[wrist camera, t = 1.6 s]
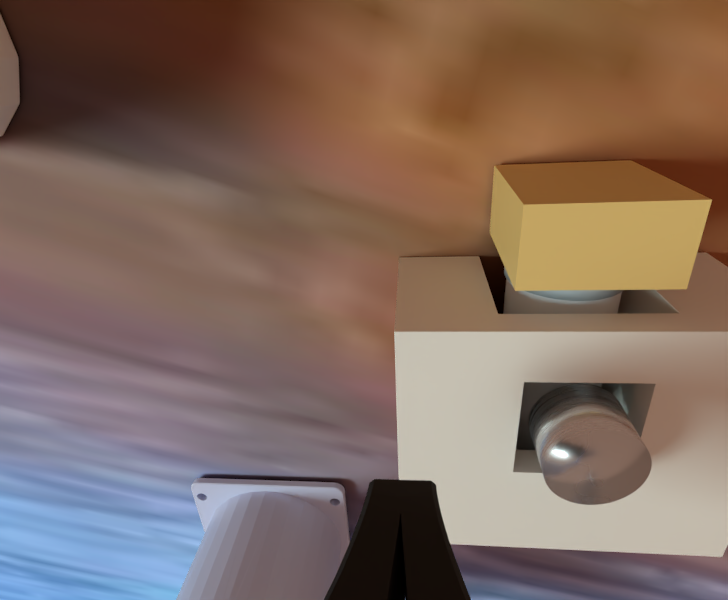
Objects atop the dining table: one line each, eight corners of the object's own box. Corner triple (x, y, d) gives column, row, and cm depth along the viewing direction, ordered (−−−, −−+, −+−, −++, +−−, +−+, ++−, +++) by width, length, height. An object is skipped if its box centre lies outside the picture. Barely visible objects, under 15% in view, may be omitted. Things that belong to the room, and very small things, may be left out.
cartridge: (581, 405, 20) (626, 500, 16) (477, 404, 21) (494, 495, 17) (629, 159, 16) (712, 199, 11) (493, 164, 16) (523, 204, 12)
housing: (650, 441, 21) (722, 556, 16) (403, 435, 22) (400, 541, 17) (706, 252, 17) (823, 331, 12) (399, 257, 18) (394, 331, 13)
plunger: (613, 454, 15) (639, 506, 13) (523, 451, 16) (537, 503, 14) (630, 384, 14) (662, 431, 12) (532, 382, 14) (550, 429, 12)
